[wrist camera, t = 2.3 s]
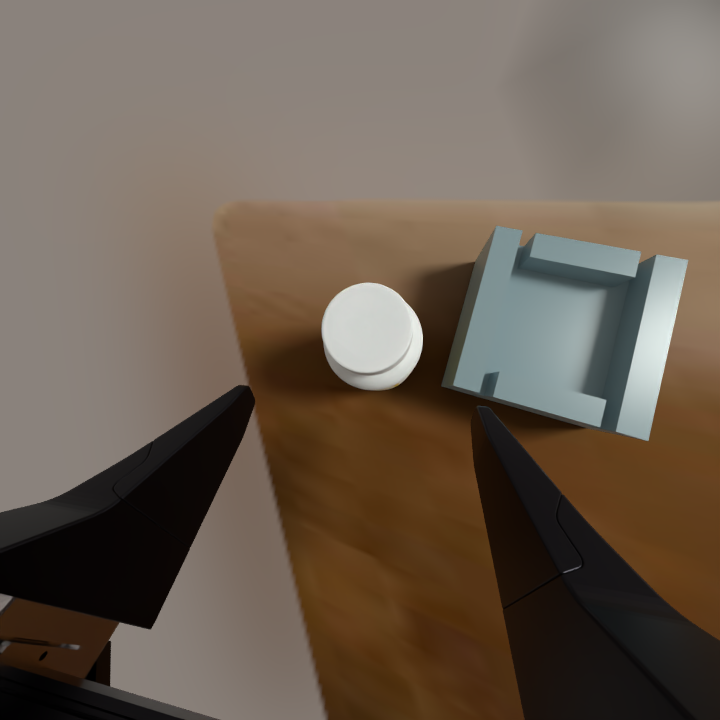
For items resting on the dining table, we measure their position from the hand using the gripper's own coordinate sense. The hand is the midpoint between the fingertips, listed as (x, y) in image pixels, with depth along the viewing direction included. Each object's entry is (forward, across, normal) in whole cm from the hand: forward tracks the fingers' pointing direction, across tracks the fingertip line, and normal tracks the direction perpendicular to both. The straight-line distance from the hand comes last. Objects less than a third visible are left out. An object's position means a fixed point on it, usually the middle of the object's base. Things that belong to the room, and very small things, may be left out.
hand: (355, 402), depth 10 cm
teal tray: (+11, -11, +4) cm, 15 cm away
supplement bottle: (+10, 0, +5) cm, 11 cm away
